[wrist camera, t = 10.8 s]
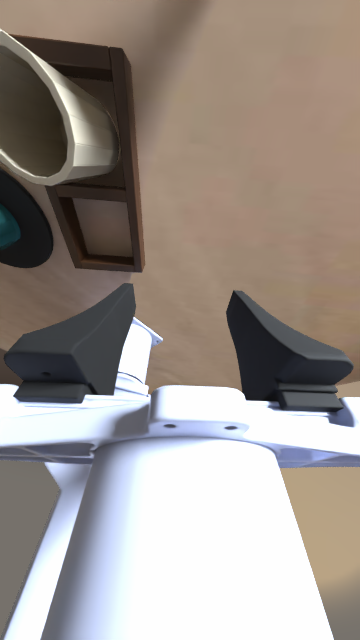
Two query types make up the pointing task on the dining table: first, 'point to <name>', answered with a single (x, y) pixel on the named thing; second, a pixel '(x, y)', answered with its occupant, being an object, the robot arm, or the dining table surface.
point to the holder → (117, 69)
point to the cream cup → (50, 122)
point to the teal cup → (8, 229)
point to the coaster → (25, 226)
